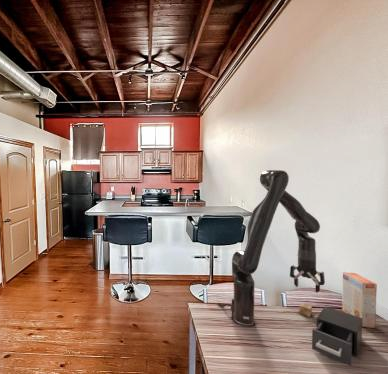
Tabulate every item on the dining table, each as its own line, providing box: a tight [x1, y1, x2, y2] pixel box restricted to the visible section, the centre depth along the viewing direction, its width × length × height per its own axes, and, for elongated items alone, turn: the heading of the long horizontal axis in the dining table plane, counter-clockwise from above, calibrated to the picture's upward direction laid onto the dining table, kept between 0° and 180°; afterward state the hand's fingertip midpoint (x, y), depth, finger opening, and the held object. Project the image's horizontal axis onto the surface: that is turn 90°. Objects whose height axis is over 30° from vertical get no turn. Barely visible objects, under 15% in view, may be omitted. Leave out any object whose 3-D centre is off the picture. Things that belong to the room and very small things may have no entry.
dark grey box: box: [316, 305, 363, 357], centre depth 99 cm, size 15×13×10 cm
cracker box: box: [341, 271, 378, 329], centre depth 114 cm, size 14×6×21 cm, turn 168°
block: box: [299, 302, 313, 318], centre depth 118 cm, size 4×4×4 cm
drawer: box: [311, 321, 354, 367], centre depth 90 cm, size 18×11×8 cm, turn 130°
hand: (306, 289), depth 118 cm, fingers open, 8 cm apart
